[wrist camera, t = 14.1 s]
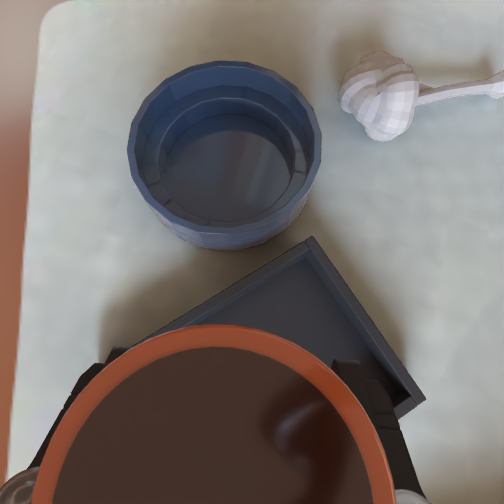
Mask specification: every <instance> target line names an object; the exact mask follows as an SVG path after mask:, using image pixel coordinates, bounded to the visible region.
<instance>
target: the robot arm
mask: <svg viewBox="0 0 504 504" xmlns="http://www.w3.org/2000/svg"><path fill="white" fill-rule="evenodd" d="M131 348H133V347H121V346H115V347H114V348H113V349H112V351H111V353H110V355H109V356H108V358H107V360H106V362H105V364H102V363H94V364H93V365H92V366H91V367H90V368H89V369H88V370H87V371H86V372H85V373H83V374H82V375H81V376H80V378H79V379H78V381H77V383H76V385H75V387H74V388H73V390H72V392H71V396H69V397H68V399H67V401H66V403H65V404H64V408H63V409H62V410H61V411H60V413H59V415H58V417H57V419H56V420H55V422H54V424H53V426H52V428H51V429H50V431H49V433H48V435H47V436H46V438H45V440H44V442H43V444H42V445H41V447H40V449H39V451H38V452H37V454H36V456H35V458H34V460H33V461H32V463H31V464H30V466H29V467H28V468H27V469H26V470H24V471H22V472H20V473H18V474H16V475H15V476H13V477H12V478H11V479H9V480H8V481H7V482H6V483H5V484H4V485H3V486H2V487H1V488H0V504H31V500H32V494H33V490H34V486H35V482H36V479H37V475H38V472H39V468H40V465H41V463H42V460H43V458H44V455H45V453H46V450H47V448H48V445H49V443H50V440H51V438H52V437H53V435H54V433H55V431H56V429H57V427H58V425H59V424H60V422H61V420H62V418H63V416H64V415H65V413H66V412H67V411H68V409H69V408H70V406H71V405H72V403H73V402H74V401H75V399H76V398H77V396H78V395H79V394H80V393H81V392H82V391H83V390H84V388H85V387H86V386H87V385H88V384H89V383H90V382H91V380H92V379H93V378H94V377H95V376H97V375H98V374H99V373H100V372H101V371H102V370H103V369H104V368H105V367H107V366H108V365H109V364H110V363H111V362H112V361H114V360H115V359H117V358H118V357H120V356H121V355H122V354H124V353H125V352H127V351H128V350H130V349H131ZM331 370H332V371H333V372H334V373H335V374H336V375H337V376H338V377H339V378H340V379H341V380H342V381H343V382H344V383H345V384H346V385H347V386H348V388H349V389H350V390H351V392H352V393H353V394H354V396H355V397H356V398H357V400H358V401H359V403H360V404H361V405H362V407H363V408H364V410H365V412H366V414H367V415H368V417H369V419H370V421H371V422H372V424H373V426H374V428H375V430H376V432H377V434H378V437H379V439H380V441H381V444H382V446H383V449H384V451H385V454H386V457H387V461H388V464H389V467H390V471H391V474H392V477H393V483H394V489H395V494H396V500H397V504H431V503H430V502H429V501H428V500H427V499H426V497H425V495H424V494H423V492H422V490H421V487H420V485H419V482H418V479H417V476H416V473H415V470H414V467H413V464H412V461H411V458H410V455H409V452H408V449H407V446H406V443H405V440H404V437H403V434H402V431H401V430H400V425H399V422H398V419H397V416H395V411H394V408H393V405H392V402H391V399H390V396H389V394H388V393H387V392H386V390H385V389H384V388H383V387H382V385H381V384H380V383H379V382H378V380H370V379H365V377H364V374H363V370H362V367H361V364H360V362H359V361H358V360H341V359H334V360H333V362H332V366H331Z"/></svg>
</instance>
